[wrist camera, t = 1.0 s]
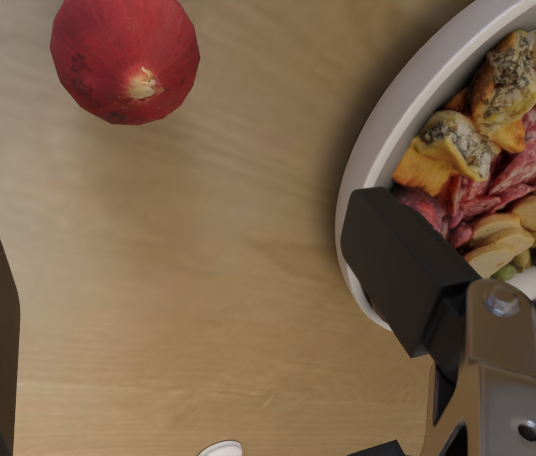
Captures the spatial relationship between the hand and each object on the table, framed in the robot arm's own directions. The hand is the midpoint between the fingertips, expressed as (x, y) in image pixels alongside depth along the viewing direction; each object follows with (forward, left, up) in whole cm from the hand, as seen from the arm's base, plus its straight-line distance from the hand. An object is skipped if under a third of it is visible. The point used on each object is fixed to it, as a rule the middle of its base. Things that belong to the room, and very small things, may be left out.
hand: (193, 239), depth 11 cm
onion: (0, 0, -16) cm, 16 cm away
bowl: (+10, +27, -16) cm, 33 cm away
